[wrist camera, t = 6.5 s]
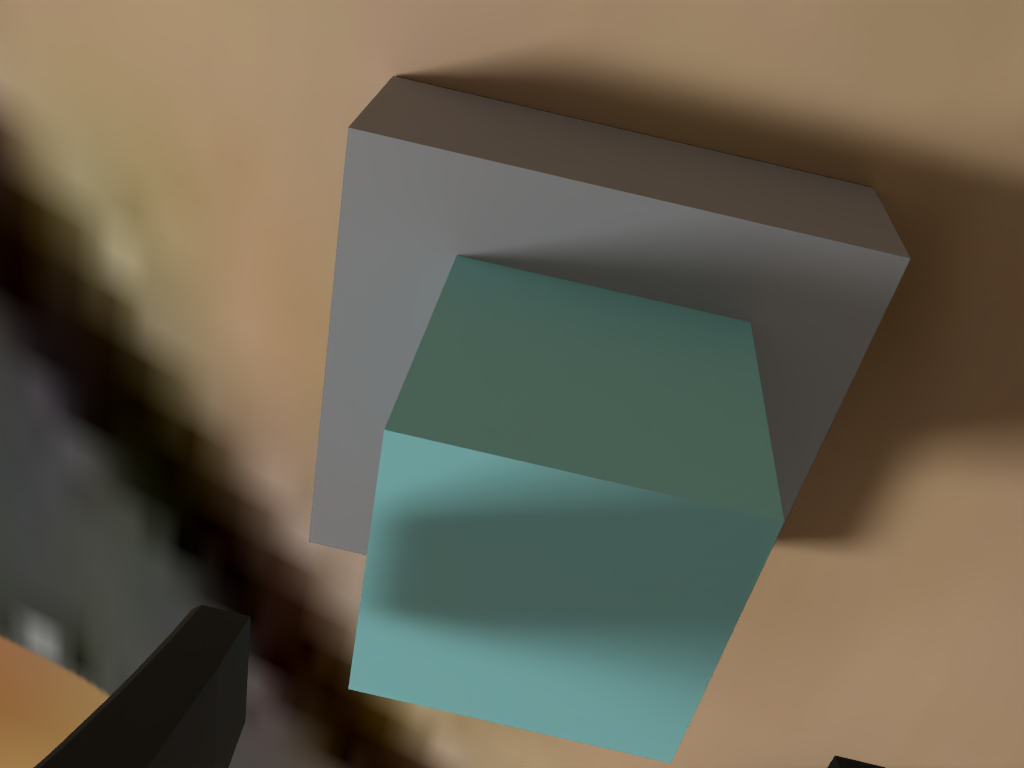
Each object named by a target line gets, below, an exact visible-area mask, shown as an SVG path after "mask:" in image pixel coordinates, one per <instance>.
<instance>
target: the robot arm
mask: <svg viewBox="0 0 1024 768" xmlns="http://www.w3.org/2000/svg"><path fill="white" fill-rule="evenodd" d="M249 637H250V616H246V615H242V614H237V613H233V612H229V611H225V610H221V609H216V608H212V607H208V606H204V605H200V606H198V607H196V608H194V609H192V610H191V611H190V612H189V614H188V615H187V616H186V617H185V618H184V619H183V620H182V622H181V623H180V624H179V625H178V626H177V627H176V628H175V629H174V631H173V632H172V633H171V634H170V635H169V636H168V637H167V638H166V639H165V640H164V641H163V642H162V644H161V645H160V646H159V647H158V648H157V649H156V650H155V651H154V652H153V653H152V654H151V655H150V656H149V657H148V658H147V659H146V661H145V662H144V663H143V664H142V665H141V666H140V667H139V668H138V669H137V670H136V671H135V672H134V673H133V674H132V675H131V676H130V677H129V678H128V679H127V680H126V681H125V682H124V683H123V684H122V685H121V686H120V687H119V688H118V689H117V690H116V691H115V692H114V693H113V694H112V695H111V696H110V697H109V698H108V699H107V700H106V701H105V702H104V703H103V704H102V705H101V706H100V707H99V708H97V709H96V710H95V711H94V712H93V713H92V714H91V715H90V716H89V717H88V718H87V719H86V720H85V721H84V722H83V723H82V724H81V725H80V726H78V727H77V728H76V730H74V731H73V732H72V733H71V734H70V735H69V736H68V737H67V738H66V739H65V740H64V741H63V742H62V743H61V744H60V745H59V746H57V748H55V749H54V750H53V751H52V752H51V753H50V754H49V755H48V756H47V757H46V758H45V759H43V760H42V761H41V762H40V763H39V764H37V765H36V766H35V767H34V768H228V767H229V764H230V761H231V759H232V756H233V753H234V751H235V748H236V745H237V742H238V740H239V737H240V734H241V731H242V729H243V726H244V723H245V716H246V696H247V676H248V656H249ZM828 768H885V767H881V766H877V765H873V764H868V763H864V762H860V761H856V760H852V759H847V758H843V757H839V756H835V757H834V758H833V760H832V761H831V763H830V764H829V766H828Z"/></svg>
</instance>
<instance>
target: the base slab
mask: <svg viewBox="0 0 1024 768" xmlns="http://www.w3.org/2000/svg"><path fill="white" fill-rule="evenodd" d="M457 255H458V256H463V257H467V258H471V259H476V260H480V261H484V262H489V263H493V264H498V265H502V266H506V267H511V268H515V269H520V270H524V271H528V272H533V273H537V274H541V275H546V276H550V277H555V278H559V279H563V280H568V281H572V282H576V283H581V284H585V285H590V286H594V287H598V288H603V289H607V290H611V291H616V292H620V293H625V294H629V295H633V296H638V297H642V298H646V299H651V300H655V301H660V302H664V303H668V304H673V305H677V306H681V307H686V308H690V309H695V310H699V311H703V312H708V313H712V314H716V315H721V316H725V317H730V318H734V319H738V320H743V321H747V322H751V328H752V334H753V340H754V346H755V352H756V358H757V364H758V370H759V375H760V381H761V387H762V393H763V399H764V405H765V411H766V417H767V423H768V429H769V434H770V440H771V446H772V452H773V458H774V464H775V470H776V476H777V482H778V488H779V493H780V499H781V505H782V511H783V517H784V523H785V521H786V519H787V517H788V514H789V512H790V510H791V508H792V506H793V504H794V502H795V500H796V498H797V496H798V494H799V491H800V489H801V487H802V485H803V483H804V481H805V479H806V477H807V475H808V473H809V471H810V468H811V466H812V464H813V462H814V460H815V458H816V456H817V454H818V452H819V450H820V447H821V445H822V443H823V441H824V439H825V437H826V435H827V433H828V431H829V429H830V427H831V424H832V422H833V420H834V418H835V416H836V414H837V412H838V410H839V408H840V406H841V404H842V401H843V399H844V397H845V395H846V393H847V391H848V389H849V387H850V385H851V383H852V381H853V378H854V376H855V374H856V372H857V370H858V368H859V366H860V364H861V362H862V360H863V357H864V355H865V353H866V351H867V349H868V347H869V345H870V343H871V341H872V339H873V337H874V334H875V332H876V330H877V328H878V326H879V324H880V322H881V320H882V318H883V316H884V314H885V311H886V309H887V307H888V305H889V303H890V301H891V299H892V297H893V295H894V293H895V291H896V288H897V286H898V284H899V282H900V280H901V278H902V276H903V274H904V272H905V270H906V267H907V265H908V263H909V261H910V259H911V258H910V256H909V254H908V252H907V251H906V249H905V247H904V245H903V243H902V241H901V239H900V237H899V235H898V233H897V231H896V229H895V227H894V226H893V224H892V222H891V220H890V218H889V216H888V214H887V212H886V210H885V208H884V206H883V204H882V203H881V201H880V199H879V197H878V195H877V193H876V191H875V189H874V188H872V187H867V186H863V185H859V184H855V183H850V182H846V181H842V180H837V179H833V178H829V177H824V176H820V175H816V174H812V173H807V172H803V171H799V170H794V169H790V168H786V167H782V166H777V165H773V164H769V163H764V162H760V161H756V160H752V159H747V158H743V157H739V156H734V155H730V154H726V153H721V152H717V151H713V150H709V149H704V148H700V147H696V146H691V145H687V144H683V143H679V142H674V141H670V140H666V139H661V138H657V137H653V136H648V135H644V134H640V133H636V132H631V131H627V130H623V129H618V128H614V127H610V126H606V125H601V124H597V123H593V122H588V121H584V120H580V119H576V118H571V117H567V116H563V115H558V114H554V113H550V112H545V111H541V110H537V109H533V108H528V107H524V106H520V105H515V104H511V103H507V102H503V101H498V100H494V99H490V98H485V97H481V96H477V95H472V94H468V93H464V92H460V91H455V90H451V89H447V88H442V87H438V86H434V85H430V84H425V83H421V82H417V81H412V80H408V79H404V78H400V77H395V76H393V77H392V78H391V79H390V80H389V81H388V82H387V84H386V85H385V86H384V87H383V88H382V89H381V91H380V92H379V93H378V94H377V95H376V96H375V97H374V99H373V100H372V101H371V102H370V103H369V104H368V105H367V107H366V108H365V109H364V110H363V111H362V112H361V113H360V115H359V116H358V117H357V118H356V119H355V120H354V122H353V123H352V124H351V125H350V126H349V127H348V136H347V146H346V157H345V167H344V178H343V188H342V199H341V209H340V220H339V230H338V241H337V251H336V262H335V272H334V283H333V293H332V303H331V314H330V324H329V335H328V345H327V356H326V366H325V377H324V387H323V398H322V408H321V419H320V429H319V440H318V450H317V461H316V471H315V481H314V492H313V502H312V513H311V523H310V534H309V542H312V543H316V544H321V545H325V546H329V547H333V548H338V549H342V550H346V551H350V552H355V553H359V554H363V555H367V551H368V544H369V536H370V529H371V522H372V514H373V507H374V500H375V493H376V485H377V478H378V471H379V463H380V456H381V449H382V442H383V434H384V429H385V426H386V424H387V422H388V419H389V417H390V414H391V412H392V410H393V407H394V405H395V402H396V400H397V398H398V395H399V393H400V390H401V388H402V385H403V383H404V381H405V378H406V376H407V373H408V371H409V369H410V366H411V364H412V361H413V359H414V357H415V354H416V352H417V349H418V347H419V345H420V342H421V340H422V337H423V335H424V333H425V330H426V328H427V325H428V323H429V321H430V318H431V316H432V313H433V311H434V309H435V306H436V304H437V301H438V299H439V296H440V294H441V292H442V289H443V287H444V284H445V282H446V280H447V277H448V275H449V272H450V270H451V268H452V265H453V263H454V260H455V258H456V256H457ZM784 523H783V525H784ZM783 525H782V527H783ZM782 527H781V529H782ZM780 531H781V530H780ZM779 533H780V532H779ZM778 535H779V534H778ZM777 538H778V536H777ZM777 538H776V540H777ZM776 540H775V542H776ZM775 542H774V544H775ZM774 544H773V546H774ZM772 548H773V547H772ZM771 550H772V549H771ZM770 552H771V551H770ZM769 554H770V553H769ZM768 556H769V555H768ZM767 558H768V557H767ZM766 561H767V559H766ZM765 563H766V562H765ZM764 565H765V564H764ZM763 567H764V566H763ZM762 569H763V568H762ZM761 571H762V570H761ZM760 573H761V572H760ZM759 575H760V574H759ZM758 577H759V576H758ZM755 584H756V583H755ZM754 586H755V585H754ZM753 588H754V587H753ZM752 590H753V589H752ZM751 592H752V591H751ZM750 594H751V593H750ZM744 607H745V606H744ZM743 609H744V608H743Z"/></svg>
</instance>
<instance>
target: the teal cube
mask: <svg viewBox="0 0 1024 768" xmlns="http://www.w3.org/2000/svg"><path fill="white" fill-rule="evenodd" d="M783 523H784V517H783V511H782V505H781V499H780V493H779V488H778V482H777V476H776V470H775V464H774V458H773V452H772V446H771V440H770V434H769V429H768V423H767V417H766V411H765V405H764V399H763V393H762V387H761V381H760V375H759V370H758V364H757V358H756V352H755V346H754V340H753V334H752V328H751V322H747V321H743V320H738V319H734V318H730V317H725V316H721V315H716V314H712V313H708V312H703V311H699V310H695V309H690V308H686V307H681V306H677V305H673V304H668V303H664V302H660V301H655V300H651V299H646V298H642V297H638V296H633V295H629V294H625V293H620V292H616V291H611V290H607V289H603V288H598V287H594V286H590V285H585V284H581V283H576V282H572V281H568V280H563V279H559V278H555V277H550V276H546V275H541V274H537V273H533V272H528V271H524V270H520V269H515V268H511V267H506V266H502V265H498V264H493V263H489V262H484V261H480V260H476V259H471V258H467V257H463V256H458V255H457V256H456V258H455V260H454V263H453V265H452V268H451V270H450V272H449V275H448V277H447V280H446V282H445V284H444V287H443V289H442V292H441V294H440V296H439V299H438V301H437V304H436V306H435V309H434V311H433V313H432V316H431V318H430V321H429V323H428V325H427V328H426V330H425V333H424V335H423V337H422V340H421V342H420V345H419V347H418V349H417V352H416V354H415V357H414V359H413V361H412V364H411V366H410V369H409V371H408V373H407V376H406V378H405V381H404V383H403V385H402V388H401V390H400V393H399V395H398V398H397V400H396V402H395V405H394V407H393V410H392V412H391V414H390V417H389V419H388V422H387V424H386V426H385V429H384V434H383V442H382V449H381V456H380V463H379V471H378V478H377V485H376V493H375V500H374V507H373V514H372V522H371V529H370V536H369V544H368V551H367V558H366V565H365V573H364V580H363V587H362V595H361V602H360V609H359V616H358V624H357V631H356V638H355V646H354V653H353V660H352V667H351V675H350V682H349V689H351V690H355V691H360V692H364V693H368V694H373V695H377V696H381V697H386V698H390V699H394V700H399V701H403V702H407V703H412V704H416V705H420V706H425V707H429V708H433V709H438V710H442V711H446V712H451V713H455V714H459V715H464V716H468V717H472V718H477V719H481V720H485V721H490V722H494V723H498V724H502V725H507V726H511V727H515V728H520V729H524V730H528V731H533V732H537V733H541V734H546V735H550V736H554V737H559V738H563V739H567V740H572V741H576V742H580V743H585V744H589V745H593V746H598V747H602V748H606V749H611V750H615V751H619V752H624V753H628V754H632V755H637V756H641V757H645V758H650V759H654V760H658V761H663V762H667V763H671V762H672V760H673V758H674V755H675V753H676V751H677V749H678V747H679V745H680V743H681V741H682V738H683V736H684V734H685V732H686V730H687V728H688V726H689V723H690V721H691V719H692V717H693V715H694V713H695V711H696V709H697V706H698V704H699V702H700V700H701V698H702V696H703V694H704V691H705V689H706V687H707V685H708V683H709V681H710V679H711V677H712V674H713V672H714V670H715V668H716V666H717V664H718V662H719V660H720V657H721V655H722V653H723V651H724V649H725V647H726V645H727V642H728V640H729V638H730V636H731V634H732V632H733V630H734V628H735V625H736V623H737V621H738V619H739V617H740V615H741V613H742V611H743V608H744V606H745V604H746V602H747V600H748V598H749V596H750V593H751V591H752V589H753V587H754V585H755V583H756V581H757V579H758V576H759V574H760V572H761V570H762V568H763V566H764V564H765V562H766V559H767V557H768V555H769V553H770V551H771V549H772V547H773V544H774V542H775V540H776V538H777V536H778V534H779V532H780V530H781V527H782V525H783Z"/></svg>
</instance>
